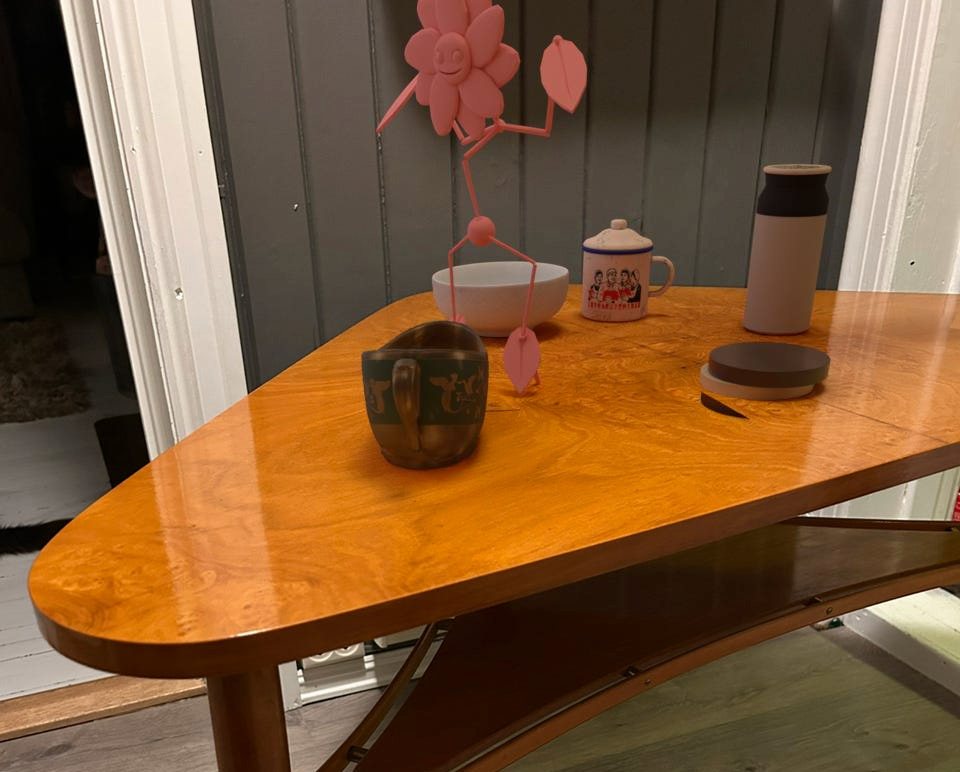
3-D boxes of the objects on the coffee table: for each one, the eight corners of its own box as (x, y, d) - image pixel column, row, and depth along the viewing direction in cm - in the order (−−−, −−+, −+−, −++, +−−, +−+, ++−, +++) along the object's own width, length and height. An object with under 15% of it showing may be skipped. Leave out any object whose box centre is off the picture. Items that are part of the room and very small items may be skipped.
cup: (295, 467, 78) (279, 344, 73) (434, 404, 92) (429, 297, 87) (420, 497, 72) (412, 364, 66) (549, 425, 86) (550, 310, 81)
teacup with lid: (578, 322, 121) (582, 225, 115) (580, 307, 129) (583, 215, 123) (672, 323, 120) (681, 224, 114) (669, 308, 128) (676, 215, 122)
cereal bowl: (513, 310, 129) (513, 255, 125) (595, 331, 117) (597, 271, 113) (409, 329, 120) (405, 271, 116) (486, 354, 108) (485, 290, 105)
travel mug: (800, 338, 111) (826, 170, 102) (734, 332, 115) (753, 169, 106) (815, 324, 117) (840, 164, 108) (752, 319, 121) (771, 163, 111)
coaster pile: (779, 381, 96) (785, 336, 94) (846, 413, 87) (855, 364, 85) (678, 392, 94) (682, 347, 91) (736, 427, 84) (742, 377, 82)
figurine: (425, 355, 108) (406, -11, 90) (608, 394, 94) (629, -35, 75) (323, 385, 99) (279, -18, 81) (509, 434, 84) (506, -47, 66)
